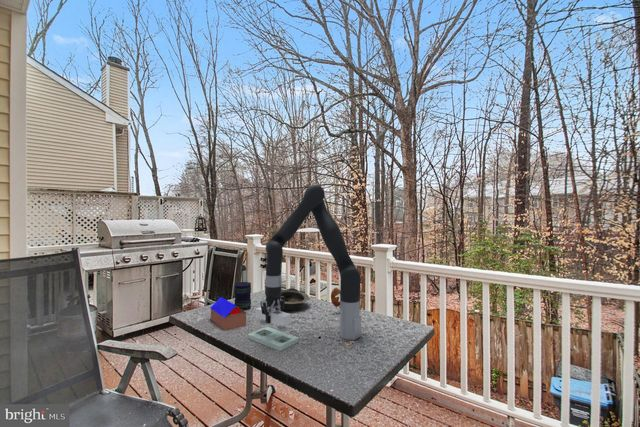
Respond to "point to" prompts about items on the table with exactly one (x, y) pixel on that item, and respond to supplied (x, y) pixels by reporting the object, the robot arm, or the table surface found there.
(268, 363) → the table surface
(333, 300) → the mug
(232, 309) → the house
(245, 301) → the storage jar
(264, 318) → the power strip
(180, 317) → the table surface
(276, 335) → the hole board
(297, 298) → the stone bowl
